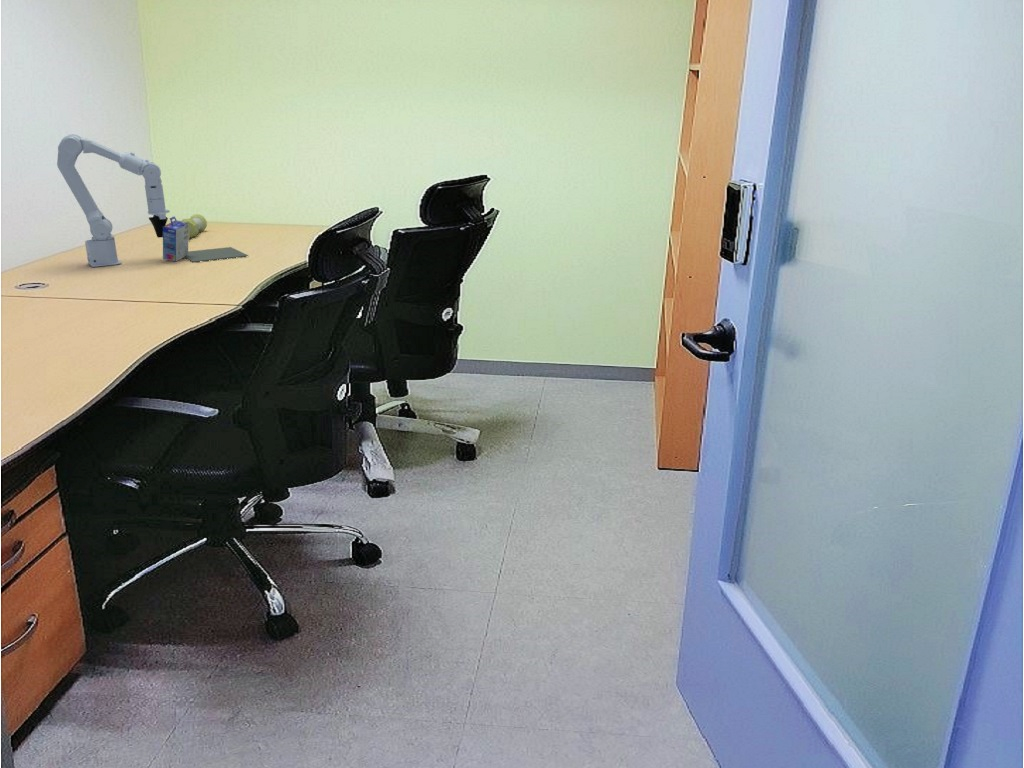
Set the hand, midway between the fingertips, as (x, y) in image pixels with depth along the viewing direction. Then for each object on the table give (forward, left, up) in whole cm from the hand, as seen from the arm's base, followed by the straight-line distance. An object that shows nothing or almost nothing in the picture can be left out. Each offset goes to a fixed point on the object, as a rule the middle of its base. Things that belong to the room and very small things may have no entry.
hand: (160, 237), depth 297 cm
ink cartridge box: (+4, 0, -8) cm, 9 cm away
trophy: (+22, +45, -9) cm, 50 cm away
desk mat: (+17, 0, -8) cm, 19 cm away
